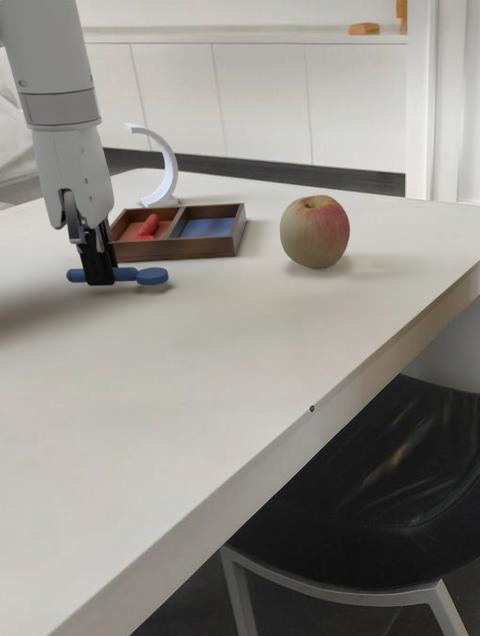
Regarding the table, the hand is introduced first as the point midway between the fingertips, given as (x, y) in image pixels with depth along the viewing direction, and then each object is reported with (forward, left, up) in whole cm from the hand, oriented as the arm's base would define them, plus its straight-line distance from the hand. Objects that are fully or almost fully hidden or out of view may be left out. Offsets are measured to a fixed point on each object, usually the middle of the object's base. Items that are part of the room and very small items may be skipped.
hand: (104, 280), depth 82 cm
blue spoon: (+2, 0, 0) cm, 2 cm away
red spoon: (+1, +18, -1) cm, 18 cm away
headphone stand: (0, +38, -1) cm, 38 cm away
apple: (+26, +5, -2) cm, 26 cm away
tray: (+6, +18, -1) cm, 19 cm away
